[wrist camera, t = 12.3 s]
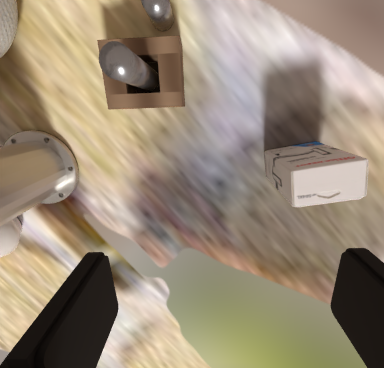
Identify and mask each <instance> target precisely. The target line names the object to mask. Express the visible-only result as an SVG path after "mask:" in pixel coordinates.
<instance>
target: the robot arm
mask: <svg viewBox="0 0 384 368" xmlns="http://www.w3.org/2000/svg"><path fill="white" fill-rule="evenodd" d="M78 173H79V172H78V166H77V163H76V160H75V158H74V156H73V154H72V153H71V151H70V150H69V149H68V147H67V146H66V145H65V144H64V143H63V142H61V141H60V140H59V139H57V138H56V137H54V136H53V135H50V134H48V133H45V132H41V131H34V130H30V131H23V132H19V133H16V134H14V135H12V136H11V137H10V138H9V139H8V140H7V141H6V142H5V144H4V145H3V146H0V227H1V226H2V225H4V224H6V223H7V222H9V221H11V220H12V219H14V218H16V217H17V216H19V215H21V214H22V213H24V212H26V211H27V210H29V209H31V208H32V207H34V206H35V205H37V204H39V203H55V202H59V201H61V200H63V199H65V198H66V197H68V196H69V195H70V194H71V193H72V192H73V191H74V189H75V187H76V185H77V182H78ZM331 310H332V313H333V315H334V316H335V318H336V319H337V321H338V323H339V324H340V326H341V327H342V329H343V330H344V332H345V333H346V335H347V337H348V338H349V340H350V341H351V343H352V344H353V346H354V347H355V349H356V351H357V352H358V354H359V355H360V357H361V358H362V360H363V361H364V363H365V365H366V366H367V368H384V263H383V262H382V261H381V260H379V259H378V258H377V257H376V256H375V255H374V254H372V253H371V252H370V251H369V250H367V249H365V248H349V249H347V250H346V251H345V252H344V253H342V255H341V260H340V264H339V269H338V273H337V278H336V282H335V287H334V291H333V296H332V300H331ZM117 313H118V301H117V296H116V292H115V287H114V282H113V277H112V272H111V268H110V263H109V258H108V256H105V255H104V253H103V252H89V253H87V254H86V255H85V256H84V257H83V259H82V260H81V261H80V263H79V264H78V265H77V266H76V268H75V269H74V270H73V272H72V273H71V274H70V275H69V277H68V278H67V279H66V281H65V282H64V283H63V284H62V286H61V287H60V288H59V290H58V291H57V292H56V294H55V295H54V296H53V297H52V299H51V300H50V301H49V303H48V304H47V305H46V306H45V308H44V309H43V310H42V312H41V313H40V314H39V315H38V317H37V318H36V319H35V321H34V322H33V323H32V325H31V326H30V327H29V328H28V330H27V331H26V332H25V334H24V335H23V336H22V337H21V339H20V340H19V341H18V343H17V344H16V345H15V346H14V348H13V349H12V350H11V352H10V353H9V354H8V356H7V357H6V358H5V360H4V361H3V362H2V364H1V365H0V368H96V366H97V363H98V361H99V358H100V356H101V353H102V351H103V348H104V346H105V343H106V341H107V338H108V336H109V333H110V331H111V328H112V326H113V323H114V321H115V318H116V316H117Z"/></svg>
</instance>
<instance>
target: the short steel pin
mask: <svg viewBox="0 0 384 368" xmlns="http://www.w3.org/2000/svg"><path fill="white" fill-rule="evenodd" d="M141 2H142V5H143V7H144V8H145V10H146V12H147V14H148V16H149V17H150V19H151V21H152V23H153V25H154V26H155V27H156V28H157V29H158V30H160V31H166V30H168V29H169V28H170V27H171V26H172V24H173V20H174V17H173V12H172V9H171V5H170V2H169V0H141Z"/></svg>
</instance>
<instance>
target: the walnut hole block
mask: <svg viewBox="0 0 384 368" xmlns="http://www.w3.org/2000/svg"><path fill="white" fill-rule="evenodd" d="M97 41H98V47H99V53H100V50H101V48H102V47H103V46H104V45H105V44H106V43H108V42H111V41H117V42H120V43H122V44H124V45H125V46H126V47H128V48H129V49H130V50H131V51H132V52H134V53H135V54H136V55H137V56H138V57H139V58H141V59H142V60H143V61H144V62H145V63H151V62H158V69H159V81H160V93H139V94H137V89H136V86H133V85H130V84H127V83H124V82H121V81H118V80H115V79H112V78H110V77H108V76H107V75H106V74H105V73H104V72H103V70H102V72H103V79H104V85H105V91H106V98H107V104H108V109H134V108H159V107H184V106H185V98H184V76H183V54H182V44H181V41H180V37H179V36H164V37H145V38H127V39H108V40H97Z"/></svg>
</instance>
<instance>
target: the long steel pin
mask: <svg viewBox="0 0 384 368" xmlns="http://www.w3.org/2000/svg"><path fill="white" fill-rule="evenodd" d="M99 63H100V66H101V69H102V70H103V72H104V73H105V74H106V75H107V76H108V77H110V78H112V79H115V80H118V81H121V82H124V83H127V84H130V85H133V86H136V87H139V88H142V89H145V90H149V91H152V90H155V89H156V88H157V87H158V86H159V83H160V81H159V75H158V73H157V72H156V71H155V70H154V69H153V68H151V67H150V66H149V65H148V64H147V63H145V62H144V61H143V60H142V59H141V58H139V57H138V56H137V55H136V54H135V53H134V52H132V51H131V50H130V49H129V48H128V47H126V46H125V45H124V44H122V43H120V42H117V41H111V42H108V43H106V44H105V45H104V46H103V47H102V48H101V50H100V54H99Z"/></svg>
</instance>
